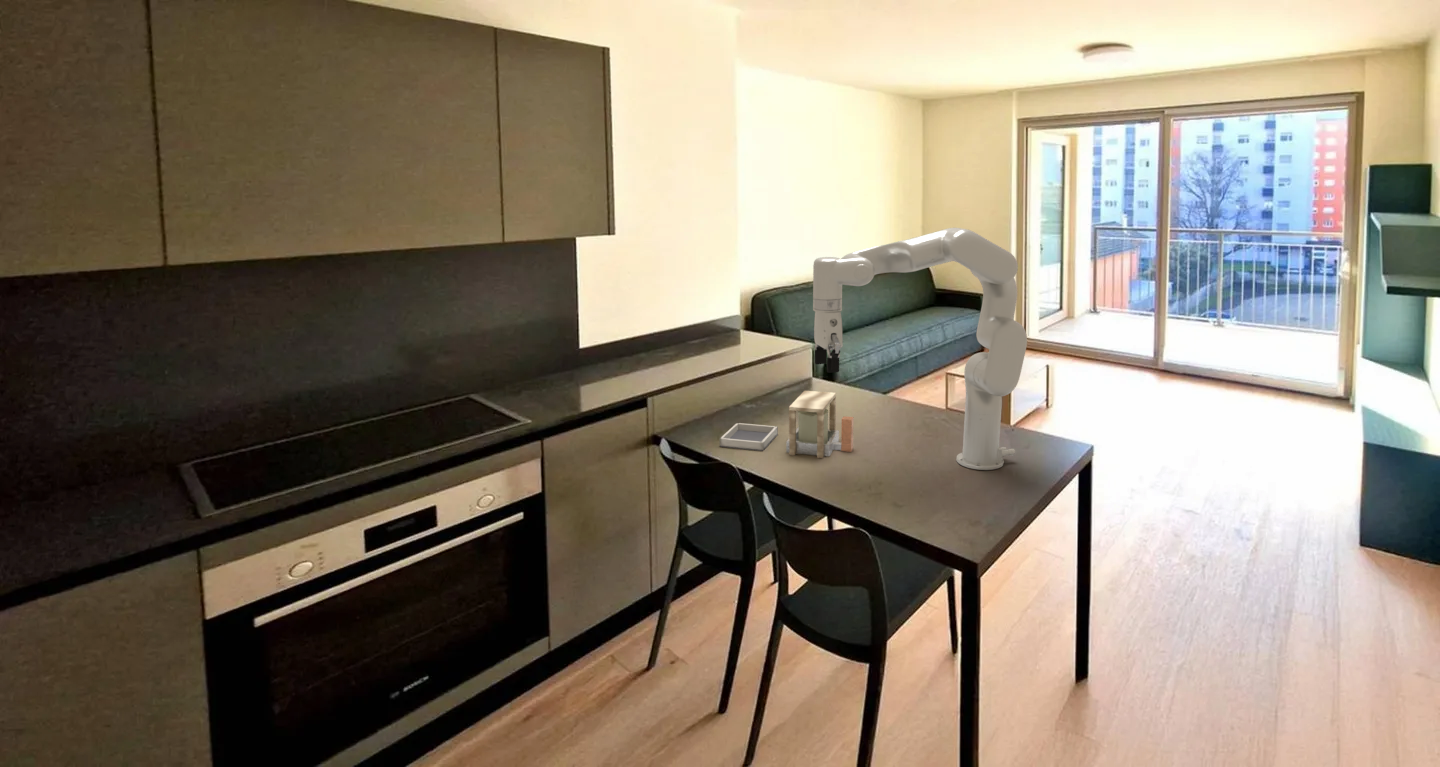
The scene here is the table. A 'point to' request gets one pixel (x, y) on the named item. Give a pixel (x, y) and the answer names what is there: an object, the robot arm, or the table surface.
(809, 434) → the can
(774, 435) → the tray
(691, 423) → the table surface
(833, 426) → the wooden stool
